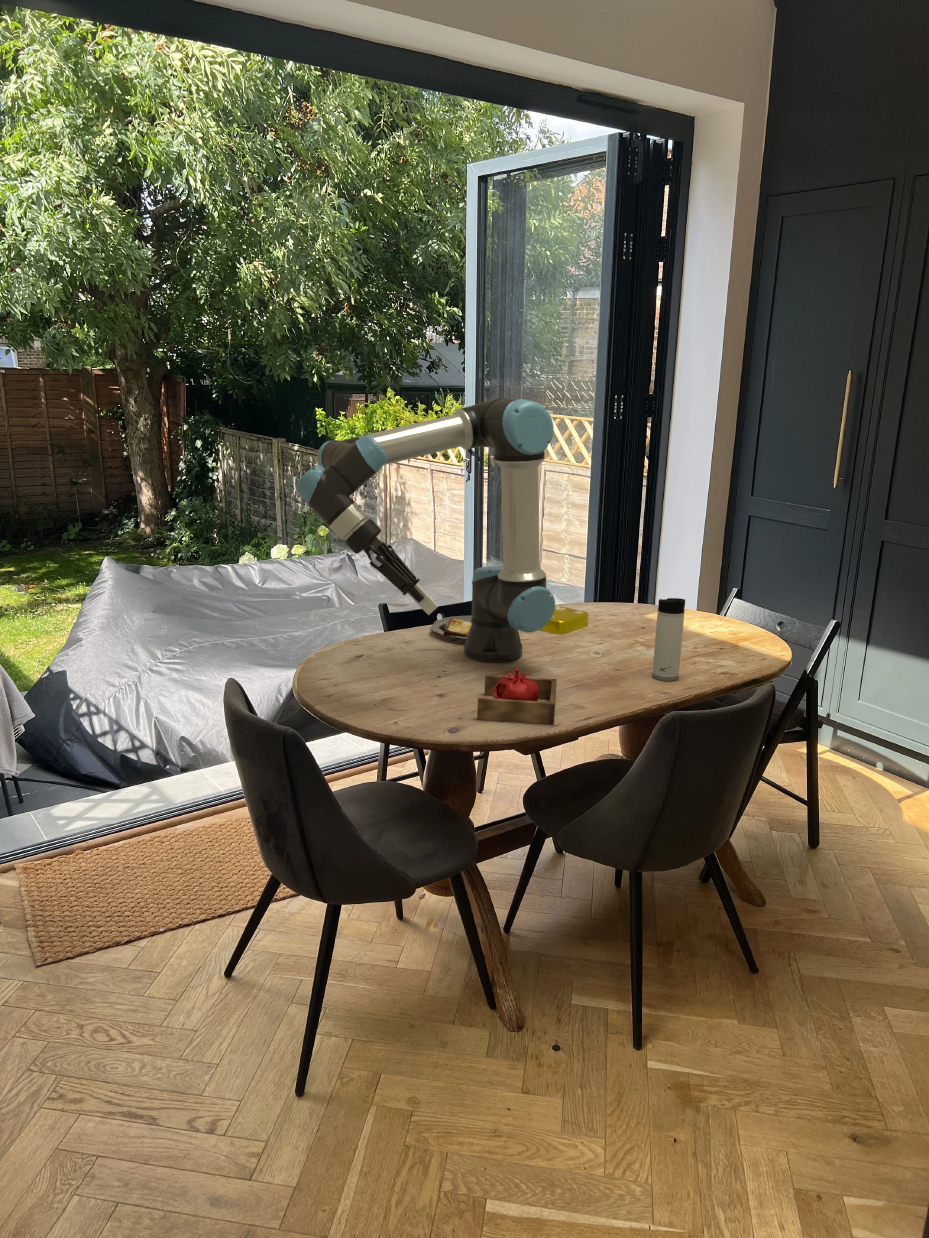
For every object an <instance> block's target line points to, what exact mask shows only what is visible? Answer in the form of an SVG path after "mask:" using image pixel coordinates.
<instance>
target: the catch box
mask: <svg viewBox="0 0 929 1238" xmlns="http://www.w3.org/2000/svg"><path fill="white" fill-rule="evenodd" d="M503 676H504V675H494V674H485V675H484V696H493V697H492V698H490V697H478V698H477V711H476V712H477V714H476V715H477V717H476V718H477V719H476V720H481V721H496V722H512V723H513V722H514V723H523V724H524V723H526V724H540V725H541V724H542V725H554V724H555V713H556V712H555V711H556V701H557V700H556V698H557V679H556V678H546V677H545V678H544V677H543V678H541V677H527V676H524V677H525V678H528V679H530V680H532V681H533V680H534V682H536V683H537V685H538V689H539V698H538V700H537V701H524V700H509V699H494V695H493V690H494V687H495V685H496V684H497V683H499V682H500V681H501V680H503V679H505V678H502V677H503ZM505 676H506V677H508V676H509V675H505ZM499 678H502V679H499ZM539 700H549V701H539Z"/></svg>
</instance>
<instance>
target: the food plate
mask: <svg viewBox="0 0 929 1238" xmlns="http://www.w3.org/2000/svg"><path fill="white" fill-rule="evenodd" d="M471 624H472V615H460V616H459V615H458V616H449V617H448V616H447V617H444V618H443V617H442V618H440V619H436V620H434V622H433V624H431V627H430V631H431V632H432V633H433V634H437V635H439V636H441V637H446V638H448V639H460V640H466V641H467V637H468V634H469V631H470V628H471Z"/></svg>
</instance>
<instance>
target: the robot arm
mask: <svg viewBox="0 0 929 1238" xmlns="http://www.w3.org/2000/svg"><path fill="white" fill-rule="evenodd" d="M554 429H555V428H554V422H553V419H552V417H551V414H550V412H549V411H548V410H547V409H546V407H544V405H542V404H541V403H539V402H536V401H533V400H529V399H526V398H525V399H524V398H505V397H504V398H502V397H501V398H494V399H490V400H487V401H483V402H480V403H476V404H472V405H469V406H465V407H463V408H458V409H456V410H455V411H454V412H453V414H452V415H451V414H450V415H446V416H442V417H438V418H434V419H429V420H424V421H421V422H415V423H412V424H407V425H404V426H398V427H394V428H389V429H386V430H382V431H377V432H373V433H368V434H364V435H359V436H356V437H352V438H351V437H350V438H346V439H341V440H339V439H332V440H327V441H326V442H324V443H323V444H322V445H321V446H320V447H319V449H318V452H317V462H318V464H315V465H313V466H312V467H311V468H309V469H308V471H305V473H304V474H303V475H302V476H301V477H300V478H299V479H298V481H297V482H296V484H295V490H296V491H295V492H297V493H298V495H299V496H300V498H301V499H303V500H304V502H305V503H306V504H307V505H308V506H309V507H310V509H311V510H312V511H314V513H316V514H317V515H318V517H320V518H321V519H322V520H323V521H324V523H325V524H327V526H329V528H330V529H331V530H332V532H334V533H335V535H337V536H338V538H339V539H340V540H342V541H343V540H345V545H346V546H347V547H348V548H349V549H350V550H351V551H352V552H353V554H356V555H358V554H360V553H361V552H362V551H363V552H364V553H365V554H366V556H367V558H368V560H369V561H370V562H369V565H370V566H371V567H372V568H373V569H375V570H376V571H378V572H379V573H380V574H381V575H382V576H384V577H385V578H386V579H387V580H388V581H389V582H390V583H391V584H392V585H393V586H394V587H396V588H397V589H398V591H400V592H401V593H402V595H403V596H406V595H409V597H411V599H413V601H414V602H415V603H416V604H417V605H418V606H419V607H420V608H421V609H422V610H423V611H424V612H425V613H426V614H427V615H428V616H430V615H431V614H432V613H433V612H434V611H435V610H436V609H437V608H438V607H439V605H438V603H437V602H436V601H435V600H434V599H433V598H432V597H431V596H430V594H428V593H427V592H426V590H425V589H424V588H423V587H422V586H421V585H420V584H419V582H420V580H421V579H420V578H417V576H416V575H414V573H413V572H412V570H410V568H409V567H408V566H407V564H406V563H405V562H404V561H403V560H402V558H401V557H400V556H399V554H397V552H396V551H395V549H394V548H393V547H392V545H390V544H386V543H387V542H384V541H381V540H380V539H379V538H378V536H379V535H380V534H381V532H382V529H381V528H380V527H379V526H378V524H377V523H376V522H375V521H374V520H373V519H371V518H368V514H367V513H366V512H365V511H364V510H363V505H362V504H357V503H356V502H355V500H354V499H353V498H352V497H351V496H352V495H353V494H355V493H356V492H357V490H359V489H360V488H361V487H362V486H363V485H364V484H366V483H367V482H368V481H369V480H371V478H372V477H374V475H375V474H376V473H378V472H379V471H380V470H381V469H382V468H383V467H384V466H386V465H389V464H395V463H398V462H403V461H407V460H409V459H410V460H411V459H415V458H419V457H423V456H426V455H431V454H435V453H440V452H443V451H448V450H451V449H456V448H462V449H463V450H470V449H474V448H491V449H493V457H494V458H493V460H494V462H495V463H496V464H497V465H498V466H499V467H500V475H501V476H500V477H501V478H500V479H501V482H500V483H501V510H502V513H501V514H502V515H501V517H502V518H501V519H502V547H503V551H502V552H503V565H493V566H491V565H490V566H482V567H477V568H476V569H475V570H474V571H473V573H472V580H471V584H472V587H471V588H472V589H471V593H472V594H471V616H472V624H471V628H470V631H469V634H468V637H467V640H466V641H465V642H464V646H463V654H464V655H465V657H467V658H469V659H472V660H474V661H479V662H483V663H484V662H486V663H507V662H512V661H517V660H519V659H520V658H521V657H522V656H523V644H522V642H521V641H522V640H521V638H520V633H519V631H521V632H523V633H533V632H534V633H535V632H538V631H541V630H540V629H541V628H543V627H544V626H545V625H546V624H547V622H548V621H550V620H551V618H552V616H553V614H554V610H555V605H556V600H555V597H554V594H553V593H552V592H551V591H550V589H548V588H547V573H546V571H544V570H543V569H542V568H541V565H540V564H541V563H540V561H541V559H540V510H539V509H540V505H539V504H540V503H539V502H540V501H539V494H540V493H539V466H540V465H541V464H542V462H544V461H545V453H546V452H545V450H546V449H547V448H548V446H549V444H550V443H551V442H552V440H553V437H554V431H555V430H554Z"/></svg>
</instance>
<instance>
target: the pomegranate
mask: <svg viewBox="0 0 929 1238" xmlns="http://www.w3.org/2000/svg"><path fill="white" fill-rule="evenodd" d="M504 673H506V674H508V675H502V676H503V677H502V678H505V679H503V680H501V681H500V682H499V683H497V684H496V685H495V687H494V690H493V695H494V696H493V699H509V700H524V701H539V699H538V698H539V689H538V685H537V683H536V682H534V680H533V681H532V680H530V679H528V678H525V677H526V676H527V675H528V676H532V677H533V676H534V675H533V674H530V673H528V672H527V673H523V674H521V675H520V668H515V669H514V674H512V673H511V672H509V671H504ZM506 676H508V677H506ZM502 678H499V679H502Z"/></svg>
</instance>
